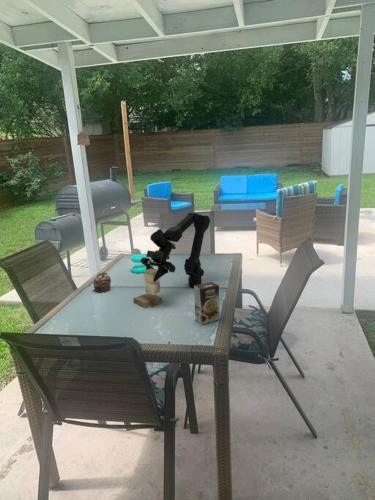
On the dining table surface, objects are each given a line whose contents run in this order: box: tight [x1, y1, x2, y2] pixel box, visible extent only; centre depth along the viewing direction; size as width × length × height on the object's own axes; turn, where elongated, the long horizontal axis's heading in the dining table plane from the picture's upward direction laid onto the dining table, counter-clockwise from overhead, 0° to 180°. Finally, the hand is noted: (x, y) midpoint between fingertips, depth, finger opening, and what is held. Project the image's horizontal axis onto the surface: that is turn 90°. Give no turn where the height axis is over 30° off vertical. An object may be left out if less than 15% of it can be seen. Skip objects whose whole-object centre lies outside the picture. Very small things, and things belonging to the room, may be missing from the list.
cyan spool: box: [130, 253, 148, 274], centre depth 244 cm, size 10×10×10 cm
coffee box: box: [193, 281, 221, 325], centre depth 168 cm, size 9×6×16 cm
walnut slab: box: [133, 293, 163, 309], centre depth 193 cm, size 10×10×3 cm
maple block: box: [143, 268, 161, 295], centre depth 186 cm, size 5×5×11 cm
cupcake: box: [92, 271, 112, 294], centre depth 213 cm, size 10×10×10 cm
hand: (150, 280), depth 185 cm, fingers closed on maple block, 5 cm apart
